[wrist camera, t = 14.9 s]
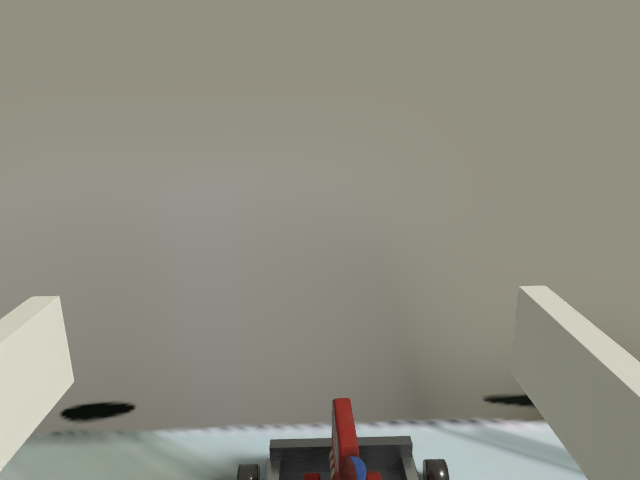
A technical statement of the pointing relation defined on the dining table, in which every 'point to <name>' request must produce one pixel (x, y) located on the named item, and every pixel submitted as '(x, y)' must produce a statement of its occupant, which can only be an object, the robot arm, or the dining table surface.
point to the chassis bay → (313, 457)
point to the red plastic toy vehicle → (344, 447)
